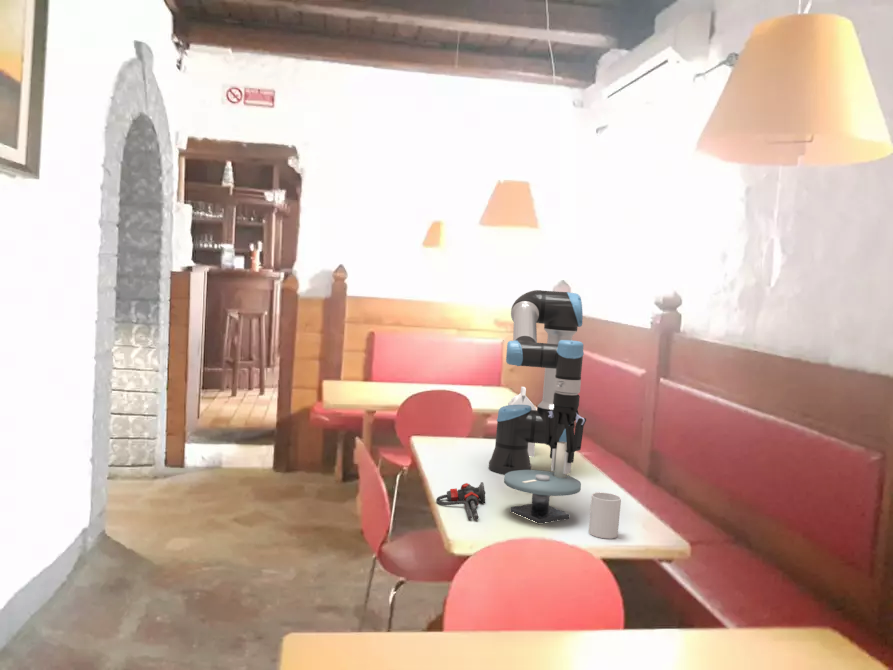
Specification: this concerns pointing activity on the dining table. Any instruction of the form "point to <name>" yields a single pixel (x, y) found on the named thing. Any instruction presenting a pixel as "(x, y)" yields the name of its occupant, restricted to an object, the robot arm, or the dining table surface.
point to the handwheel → (545, 478)
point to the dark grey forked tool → (465, 498)
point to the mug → (604, 515)
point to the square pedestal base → (540, 510)
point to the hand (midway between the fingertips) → (560, 471)
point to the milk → (523, 400)
